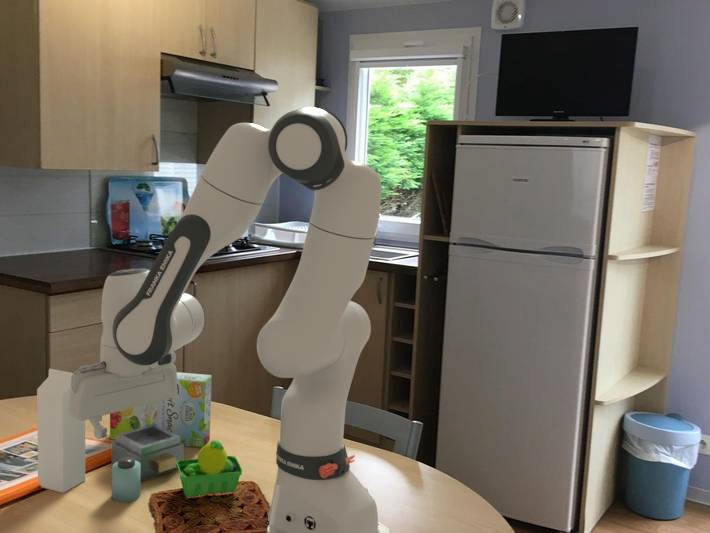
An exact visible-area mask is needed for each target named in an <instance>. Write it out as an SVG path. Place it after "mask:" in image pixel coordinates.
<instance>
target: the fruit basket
mask: <svg viewBox="0 0 710 533" xmlns="http://www.w3.org/2000/svg"><path fill="white" fill-rule="evenodd" d="M176 464H177V468H178V469H177V470H178V474H179V477H180V483H181V487H182V489H183V494H184V496H185V498H186V497H194V496H199V495H200V496H201V495H207V494H211V493H222V492H234V491H235V492H236V489H237V486H238V484H239V480H240V477H241V475H242V473H243V468H242V467H241V464H240V463H239V461H238V459H237V456H233V455H228V454H227V451H226V450H225V446H223V443H221V442H220V441H219V440H211V441H209V442H207V443H206V444H205V445H204V447H203V448H201V449H200V450H199V452H198V454H197V458H192V459H183V460H179V461H177V462H176Z"/></svg>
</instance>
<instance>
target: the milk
mask: <svg viewBox="0 0 710 533" xmlns="http://www.w3.org/2000/svg"><path fill="white" fill-rule="evenodd" d="M72 374H74V373H72V372H68V371H64V370H59V369H53V368H49V369H48V377H47V378H46V379H45V380H44V381H43V382H42V383H41V385H40V386H38V387H37V389H36V407H37V408H36V410H37V412H36V413H37V414H36V416H37V417H36V418H37V419H36V423H37V424H36V425H37V426H36V427H37V430H36V431H37V483H38V482H39V483H40V485H41V487H40V488H42V489H47V490H52V491H55V492H58V493H62V494H63V493H66V492H68V491H69V490H71V489H73V488H75V487H77V486H78V485H81V483H84V482H85V481H86V420H83V421H81V420H79V419H77V418H75V417H73V416H72V415H71V414H70V413H69V399H70V392H71V377H72Z"/></svg>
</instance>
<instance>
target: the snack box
mask: <svg viewBox="0 0 710 533" xmlns="http://www.w3.org/2000/svg"><path fill="white" fill-rule="evenodd" d="M212 376H213V375H211V374H200V373H191V372H189V373H188V372H179V371H177V391H176V393H175V395H174V396H173V397H172V398H170V399H166V400H162V401H159V406H158V408H157V410H156V412H155V414H154V415H153V422H152V424H155V425H157V426H159V427H161V428H163V429H165V430H167V431H170V432H172V433H174V434H176V435H178V436H180V442H181V443H183V444H184V447H192V448H201V449H202V448H203V447H204V446H205V445H206V444H208V443H209V442H210V437H211V412H212V411H211V404H212V401H211V400H212V380H213V379H212V378H213V377H212ZM147 406H148V405H142V406H138V407H134V408H130V409H126V410H122V411H118V412H115V413H111V414H109V439H111V440H115V435H117V434H121V433H124V432H128V431H131V430H135V429H138V428H142V427H145V426H144V425H141V423H140V421H141V415H142V414H144V413H145V411H146V409H147ZM152 424H151V425H152ZM148 426H149V425H148Z"/></svg>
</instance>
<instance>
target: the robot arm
mask: <svg viewBox="0 0 710 533" xmlns="http://www.w3.org/2000/svg"><path fill="white" fill-rule="evenodd" d="M347 146H348V135H347V130H346V128H345V126H344V124H343V123H342V120H341V119H340V118H338V117H337V116H336V114H334V113H332V112H331V111H329V110H327V109H323V108H319V107H318V108H317V107H312V106H305V107H301V108H297V109H295V110H291V111H289V112H286V113H285V114H283V115H282V116H280V117H279V118H278V119H277V120H276V122H275V123H274V124H273V126H272V128H271V129H269V128H265V127H262V126H261V125H258V124H256V123H251V122H238V123H235V124H232V126H230V127H229V128H228V129H227V130H226V131H225V133H224V134H223V135H222V137H221V138H220V139H219V142H218V143H217V144H216V146H215V148H214V149H213V150H212V153H210V154H211V155H210V156H209V158H208V159H207V162H206V164H205V165H204V168H203V170H202V172H201V175H200V176H199V179H198V182H197V183H196V186H195V187H194V189H193V192H192V194H191V195H190V198H189V200H188V202H187V204H186V206H185V207H184V208H185V209H184V210H183V212H182V213H181V215H180V216H179V219H178V221H177V222H176V224H175V225H174V227H173V229H172V231H171V232H170V233H169V235H168V237H167V239H166V241H165V242H164V244H163V245H162V247H161V249H160V251H159V253H158V255H157V256H156V258H155V260H154V261H153V262H154V263H153V264H152V266H151V267H150V269H147V268H141V267H136V268H135V267H134V268H128V269H121V270H116V271H114V272H112V273H110V274H108V276H107V277H106V279H105V281H104V285H103V288H102V289H103V290H102V297H101V309H100V311H101V314H100V319H101V323H102V327H103V330H102V334H101V337H100V346H99V347H100V349H99V350H100V352H99V353H100V355H99V358H100V360H99V362H95V363H93V364H88V365H86V364H85V365H82V366H79V368H78V369H76V370H75V371H74V373H73V374H72V377H71V392H70V399H69V413H70V414H71V415H72V416H73V417H75V418H77V419H79V420H81V421H83V420H85V421H86V420H88V421H89V422H90V424H91V425H92V427H93V434H94V438H96V439H97V440H100V439H104V438H107V436H108V434H107V433H108V428H107V427H105V426H104V425H102V424H101V423H100V422H102V421H103V416H107V415H110V414H111V413H115V412H118V411H122V410H126V409H130V408H134V407H138V406H142V405H148V406H147V409H146V411H145V413H144V414H142V415H141V421H140V423H141V425H144V426H148V425H151V424H152V422H153V415H154V414H155V412H156V410H157V408H158V406H159V401H162V400H166V399H170V398H172V397H173V396H174V395H175V393H176V391H177V372H178V371H177V370H178V369H177V367H176V365H175V364H174V363H175V362H176V359H177V354H176V352H175V351H176V350H179V349H181V348H182V347H184V346H186V345H188V344H190V343H192V342H194V340H196V339H197V338H198V337H199V336H201V334H202V333H203V331H204V329H205V324H206V315H205V310H204V308H203V305H202V304H201V302H200V300H198V298H197V297H195V296H194V295H193V294H191V293H189V292H186V290H187V288H188V286H189V285H190V282H191V281H192V279H193V277H194V276H195V274H196V273H197V271H198V269H199V268H200V267H201V266H202V265H203V264H204V263H205V262H206V261H207V260H208V259H210V258H211V257H212V256H213V255H215V254H216V253H217V252H219V251H221V250H222V249H224V248H225V247H227V246H229V245H230V244H232V243H234V242H235V241H237V240H239V239H240V238H241V237H243V236H244V235H245V233H246V232H247V231H248V230H249V228H250V227H251V226H252V224H253V222H254V221H255V219H256V218H257V217H258V214H259V213H260V211H261V208H262V207H263V204H264V202H265V200H266V197H267V195H268V193H269V191H270V190H271V187H272V185H273V184H274V182H275V180H276V179H277V178H278V177H279V176H280V175H282V174H283V175H285V176H286V177H288V178H290V179H291V180H293V181H295V182H297V183H299V184H300V185H302V186H303V187H305V188H306V189H308V190H310V191H313V192H314V193H313V194H314V195H313V196H314V197H313V198H314V199H313V205H312V209H311V213H310V217H309V222H308V228H307V231H306V234H305V235H306V236H305V239H304V244H303V248H302V252H301V256H300V259H299V264H298V266H297V269H296V272H295V274H294V276H293V278H292V281H291V283H290V285H289V287H288V288H287V290H286V293H285V294H284V296H283V298H282V300H281V302H280V304H279V306H278V307H277V310H276V311H275V312H274V314H273V315H272V316H271V318H270V319H269V320H268V321H267V322H266V323H265V324H264V325H263V326H262V328H261V329H260V330H259V333H258V335H257V339H256V351H257V356H258V360H259V361H260V363H261V365H262V366H263V368H264V369H265V370H266V371H267V372H268V373H270V374H271V375H273V376H274V377H277V378H280V379H289V378H290V379H291V378H292V379H293V380H292V381H291V384H290V385H289V387H288V388H287V390H286V392H285V393H284V395H283V397H282V400H281V407H280V408H281V410H280V428H279V430H280V431H279V432H280V433H279V440H278V441H277V444H276V451H275V457H276V458H275V460H276V461H275V464H276V465H277V473H276V479H275V483H274V489H273V494H272V499H271V504H270V506H269V510H268V512H267V515H268V521H269V525H268V524H267V528H266V532H265V533H392V532H391V529H390V528H389V527H388V526H386V525H385V524H384V523H382V522H380V521H379V518H378V517H379V516H378V506H377V502H376V500H375V499H374V497H373V496H372V495H371V494H370V493H369V490H368V489H367V487H366V486H364V485H363V484H362V482H361V481H360V480H359V479H358V478H357V476H356V475H355V474H354V473H353V471H352V470H351V469H350V468H351V465H350V464H352V463H353V462H355V459H354V458H355V457H356V456H355V455H354V454H353V455H350V456H348V453H347V449H346V445H345V444H344V434H345V432H344V431H345V419H346V406H347V400H348V396H349V392H350V389H351V384H352V382H353V379H354V375H355V371H356V367H357V364H358V361H359V358H360V356H361V353H362V351H363V349H364V347H365V346H366V344H367V342H368V341H369V339H370V336H371V331H372V325H371V320H370V317H369V315H368V313H367V312H366V309H364V308H363V307H362V306H361V305H360V304H358V303H357V302H355V301H352V300H351V299H352V298H353V297H354V295H355V294H356V293H357V290H359V289H360V287H361V286H362V284H363V283H364V280H365V279H366V273H367V269H368V266H369V262H370V258H371V255H372V249H373V247H374V246H373V245H374V241H375V238H376V233H377V229H378V224H379V218H380V210H381V202H382V201H381V200H382V188H383V187H382V181H381V178H380V175H379V174H378V173H377V171H375V170H374V169H373V168H371V167H370V166H369V165H367V164H365V163H362V162H359V161H355V160H353V159H352V158H350V157H349V155H348V154H347V152H346V151H347V148H348V147H347Z"/></svg>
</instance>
